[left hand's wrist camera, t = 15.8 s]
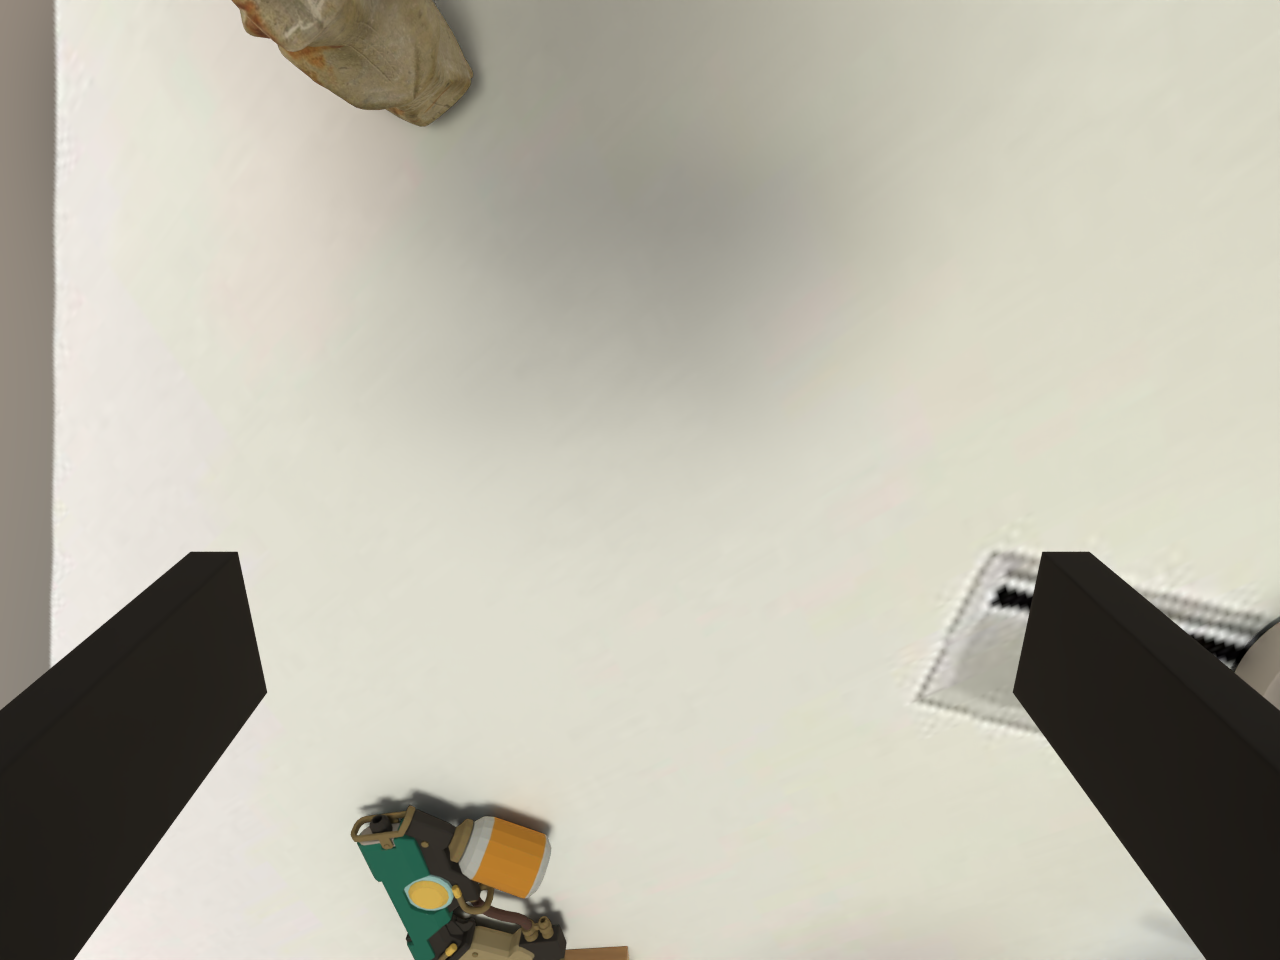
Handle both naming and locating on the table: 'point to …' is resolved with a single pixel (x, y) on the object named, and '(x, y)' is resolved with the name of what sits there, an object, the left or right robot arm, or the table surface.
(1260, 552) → the table surface
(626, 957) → the bar
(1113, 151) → the table surface
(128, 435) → the table surface
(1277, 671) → the bust sculpture
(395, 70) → the sculpture
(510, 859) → the spray gun
